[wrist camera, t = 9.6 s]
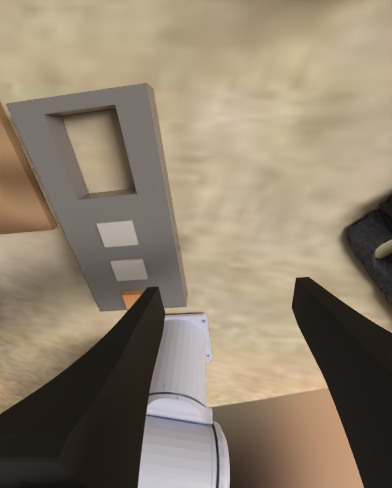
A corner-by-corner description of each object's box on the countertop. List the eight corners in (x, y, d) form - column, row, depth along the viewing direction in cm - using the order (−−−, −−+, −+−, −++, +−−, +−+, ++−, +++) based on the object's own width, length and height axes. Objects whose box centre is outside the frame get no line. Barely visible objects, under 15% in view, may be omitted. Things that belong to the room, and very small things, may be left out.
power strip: (187, 294, 25) (185, 310, 23) (107, 298, 26) (97, 315, 23) (152, 88, 15) (143, 81, 13) (27, 106, 16) (-2, 102, 14)
